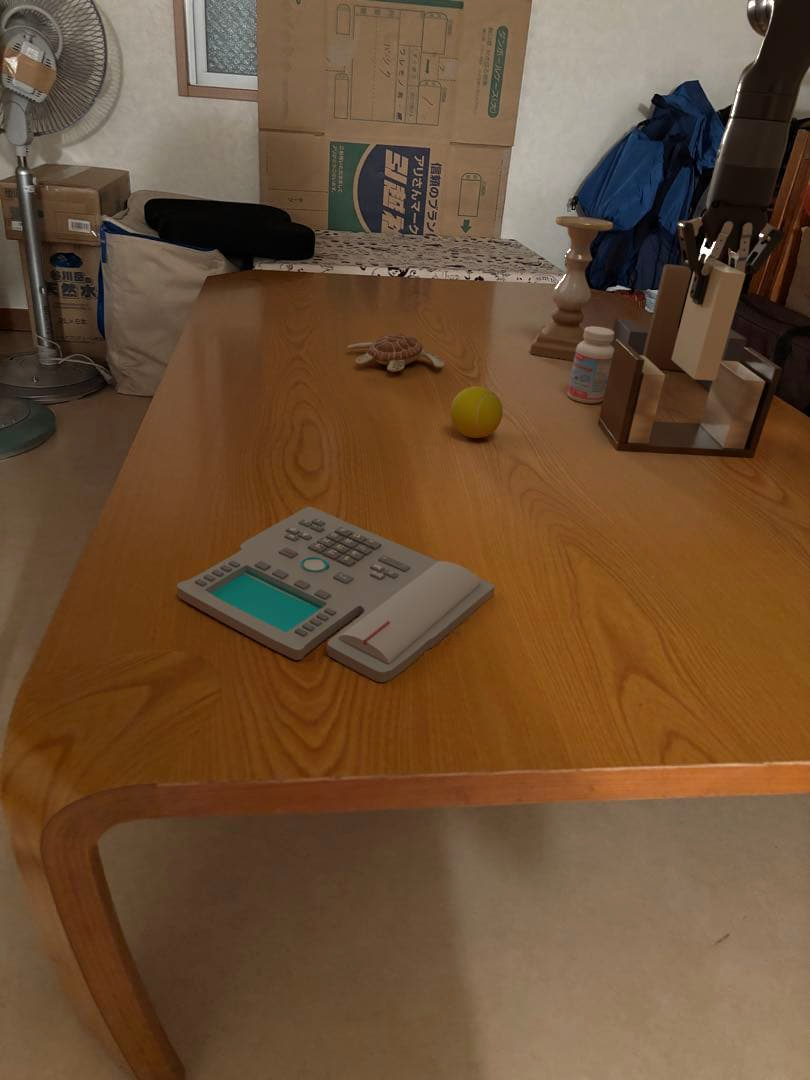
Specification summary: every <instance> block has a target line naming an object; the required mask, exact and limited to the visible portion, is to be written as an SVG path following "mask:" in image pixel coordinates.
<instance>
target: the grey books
mask: <svg viewBox="0 0 810 1080" xmlns="http://www.w3.org/2000/svg"><path fill="white" fill-rule="evenodd" d="M612 331H614V338H613V341H612V342H611V343H610V345H611V346H612V347H613V348H615V343H616V339H623V340H624V341H625V342H626V343H627V344H628V345H629V346H630V347H631V348H632V349H633V350H634V351H636V352H637V353H638V354H639V355H643V354H644V349H645V345H646V341H647V337H648V332H649V331H647V330H646V329H644V327H642V326H641V325H640V324H638V323H637V322H636V321H635V320H634V319H633V318H625V317H624V318H623V317H615V319H614V322H613V328H612ZM747 341H748V339H747V338H746V337H745V336H743V335H742V334H740V333H738V332H736V331H735V330H733V329H732V328H730V331H729V334H728V338H727V341H726V345H725V348H724V352H723V356H722V359H721V361H737V362H739V363H740V360H741V356H742V353H743V350H744V347H746V344H747ZM695 381H696V382H697V383H699V384H700V385H701V386H702V387H703V388H704V389H706V390H707V392H710V388H711V385H712V381H711V380H695Z"/></svg>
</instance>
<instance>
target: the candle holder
mask: <svg viewBox="0 0 810 1080" xmlns="http://www.w3.org/2000/svg"><path fill="white" fill-rule="evenodd" d="M555 223H556V225H558V226H561V227H564V228H566V229H567V235H568V237H569V240H570V245H569V248H568V250H567V251H566V252H565V253H564V255H563V259H565V264H566V270H565V273H563V276H562V277H561V278H560V280H559V281H558V282H557V283H556V284H555V286H554V287H553V289H552V291H551V300H552V302H553V303H554V305H556V307H555V308H554V309H553V310H552V312H551V315H550V316H551V319H552V320H553V322H551V323H549V324H547V325H543V326H542V327H541V329H540V330H539V332H538V333H537V335H536V336H535V338H534V339H533V340H532V342H531V345H530V351H529V354H530V355H533V354H535V355H534V356H538V355H541V356H540V357H545V356H547V357H546V358H551V357H553V358H552V359H557V358H560V359H559V360H563V359H565V360H564V361H571V362H574V357H575V352H576V348H577V345H578V344H579V343H580V342H582V341H584V338H583V337H584V336H583V334H584V330H585V329H584V328H583V327H581V326H580V324H582V322H583V321H584V319H585V315H584V312H583V311H582V309H584V308H586V307H587V306H588V305H589V304H590V302H591V299H592V293H591V289H590V287H589V284H588V281H587V279H586V278H587V277H586V269H587V267H588V266H589V265H590V263H591V262H592V261H593V257H592V254H591V250H590V248H591V244H592V242H593V241H594V240H595V239H596V238H597V237H598V235H599V232H606V231H611V230H612V229H613V227H614V223H613V222H612V221H608V220H605V219H599V218H595V217H594V218H593V217H587V216H575V215H574V216H573V215H561V216H557V217H556V218H555Z"/></svg>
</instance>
